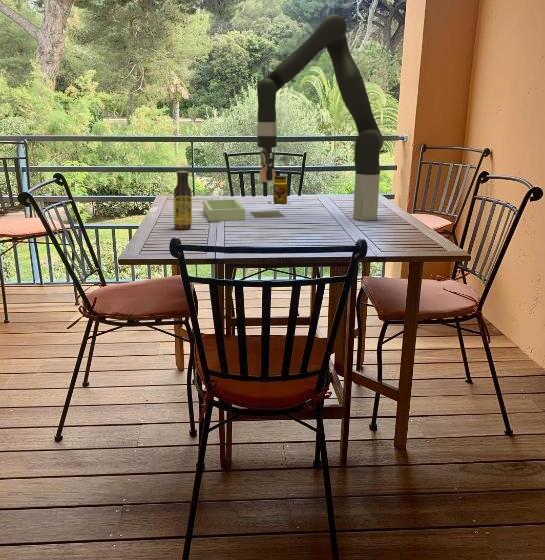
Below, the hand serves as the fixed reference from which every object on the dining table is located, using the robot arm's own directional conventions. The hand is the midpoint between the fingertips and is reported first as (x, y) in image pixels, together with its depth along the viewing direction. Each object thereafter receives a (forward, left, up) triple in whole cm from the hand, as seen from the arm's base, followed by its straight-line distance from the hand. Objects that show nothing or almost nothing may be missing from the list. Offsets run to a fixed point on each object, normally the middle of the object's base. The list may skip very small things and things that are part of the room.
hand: (267, 179), depth 223 cm
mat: (0, 0, -14) cm, 14 cm away
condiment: (+25, -11, -15) cm, 31 cm away
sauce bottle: (-17, +34, -14) cm, 41 cm away
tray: (+2, +17, -14) cm, 22 cm away
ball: (0, 0, -1) cm, 1 cm away
